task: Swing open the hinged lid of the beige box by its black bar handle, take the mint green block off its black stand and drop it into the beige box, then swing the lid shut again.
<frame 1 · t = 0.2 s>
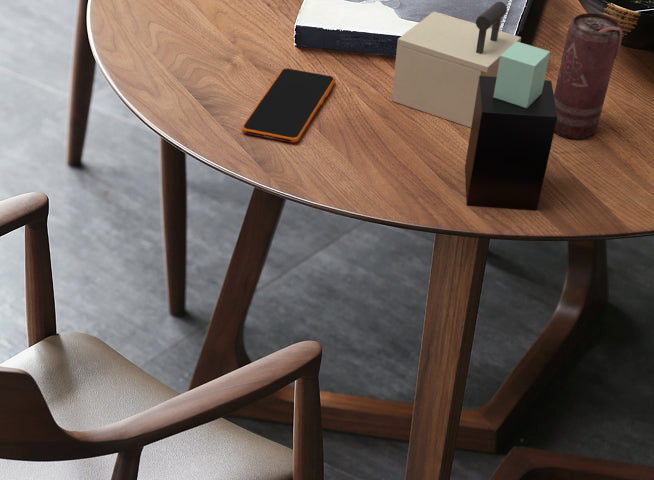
lid: (462, 22, 133), point 11 cm above the table, hinge at 0.0°
beige box: (448, 99, 140), on the table
can: (572, 129, 136), on the table
smartphone: (290, 108, 138), on the table
pod stand: (500, 188, 126), on the table
mint green block: (517, 95, 117), point 12 cm above the table, touching pod stand
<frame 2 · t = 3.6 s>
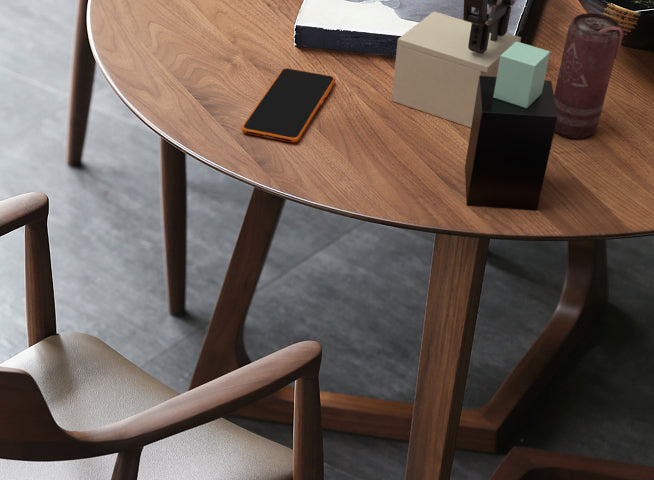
hand: (487, 41, 133), 9 cm above the table, tool pointing down, fingers closed on lid, 5 cm apart
lid: (462, 22, 133), point 11 cm above the table, hinge at 0.0°, touching gripper
everything else where it was.
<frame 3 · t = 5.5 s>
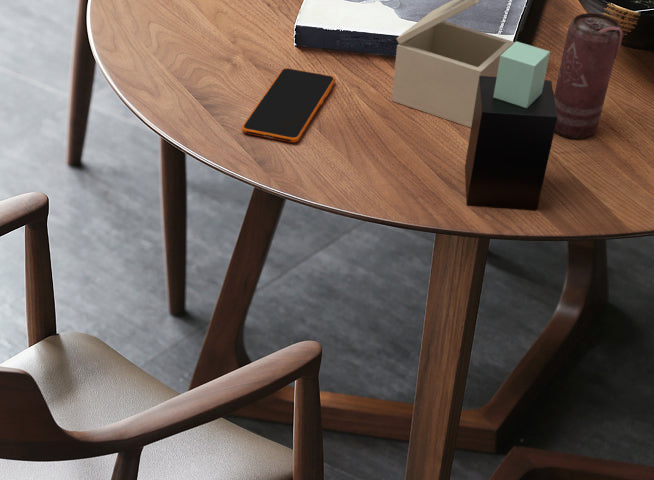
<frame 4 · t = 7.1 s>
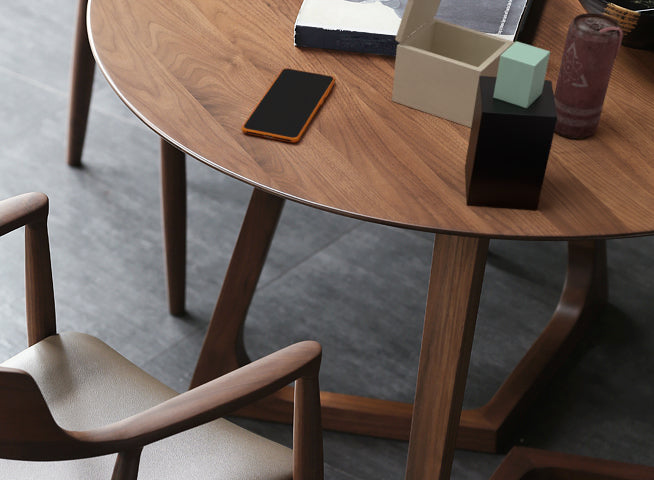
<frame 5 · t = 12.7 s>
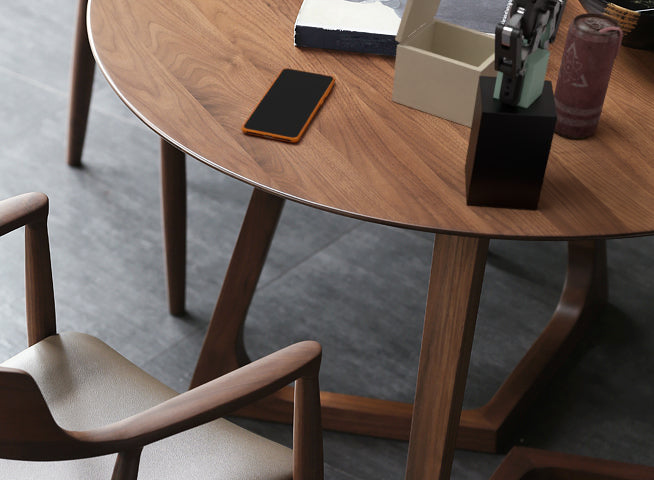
hand: (518, 93, 117), 12 cm above the table, tool pointing down, fingers closed on mint green block, 4 cm apart
mint green block: (517, 95, 117), point 12 cm above the table, touching gripper, pod stand
when the fingers open (15 cm above the table, at t = 17.9 s): mint green block drops 14 cm, resting on beige box.
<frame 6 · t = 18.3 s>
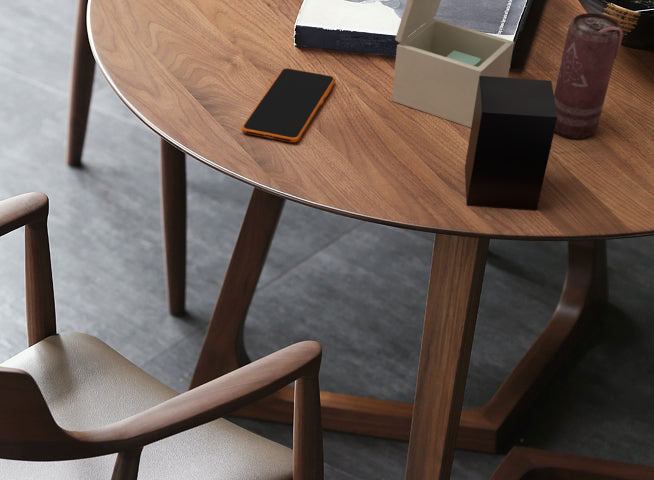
mint green block: (455, 96, 140), point 1 cm above the table, touching beige box
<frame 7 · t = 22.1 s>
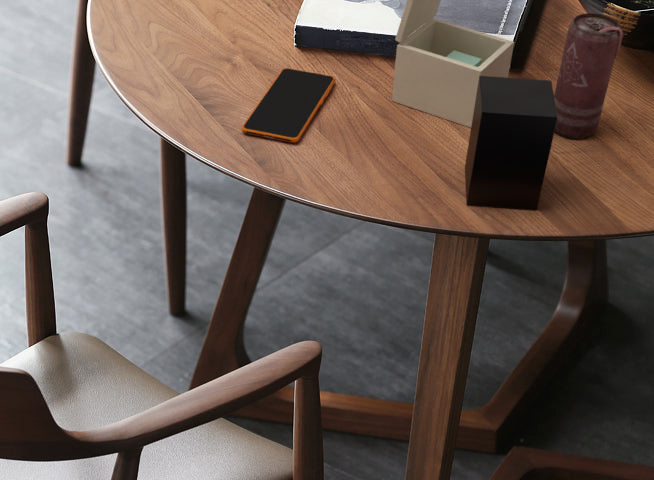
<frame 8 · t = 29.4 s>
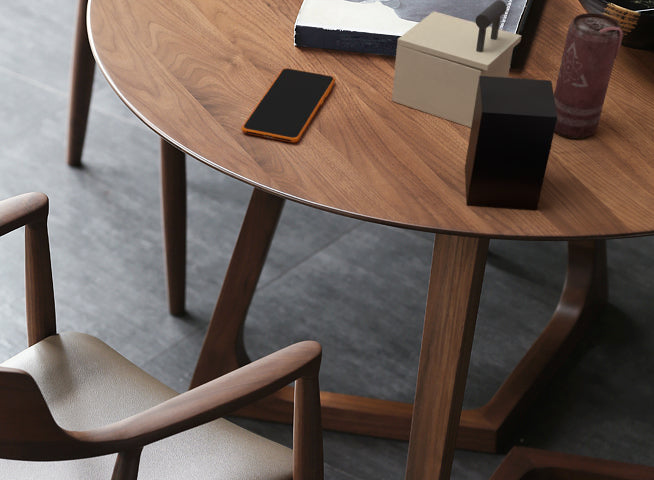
lid: (461, 21, 133), point 11 cm above the table, hinge at 1.1°
everything else where it was.
at the end: lid reached +78° during the clip, +1° at the end; mint green block inside the target area in the beige box (1.0 cm from its centre), point 0.8 cm above the beige box's base; lid at +1° (first picture: +0°) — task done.
